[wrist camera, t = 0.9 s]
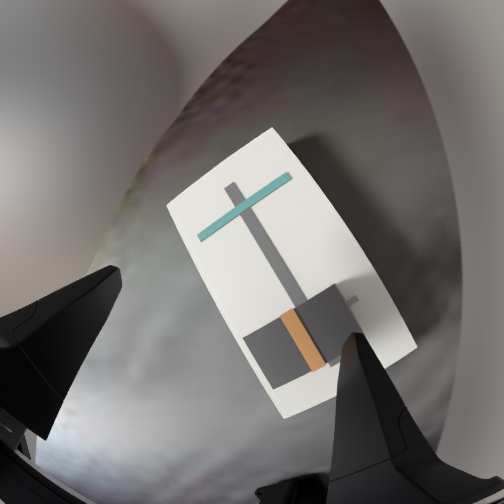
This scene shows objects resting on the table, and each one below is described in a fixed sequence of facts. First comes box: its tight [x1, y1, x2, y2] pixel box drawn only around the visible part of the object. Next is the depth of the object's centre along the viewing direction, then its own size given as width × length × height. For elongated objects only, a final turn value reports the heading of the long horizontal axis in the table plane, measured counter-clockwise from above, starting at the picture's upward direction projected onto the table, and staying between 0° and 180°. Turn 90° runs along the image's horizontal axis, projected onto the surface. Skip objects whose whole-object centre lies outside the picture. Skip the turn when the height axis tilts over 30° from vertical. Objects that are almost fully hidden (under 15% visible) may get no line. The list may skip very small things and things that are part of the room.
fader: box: [243, 283, 365, 390], centre depth 14 cm, size 3×5×5 cm, turn 122°
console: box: [166, 128, 417, 419], centre depth 19 cm, size 18×10×3 cm, turn 31°
